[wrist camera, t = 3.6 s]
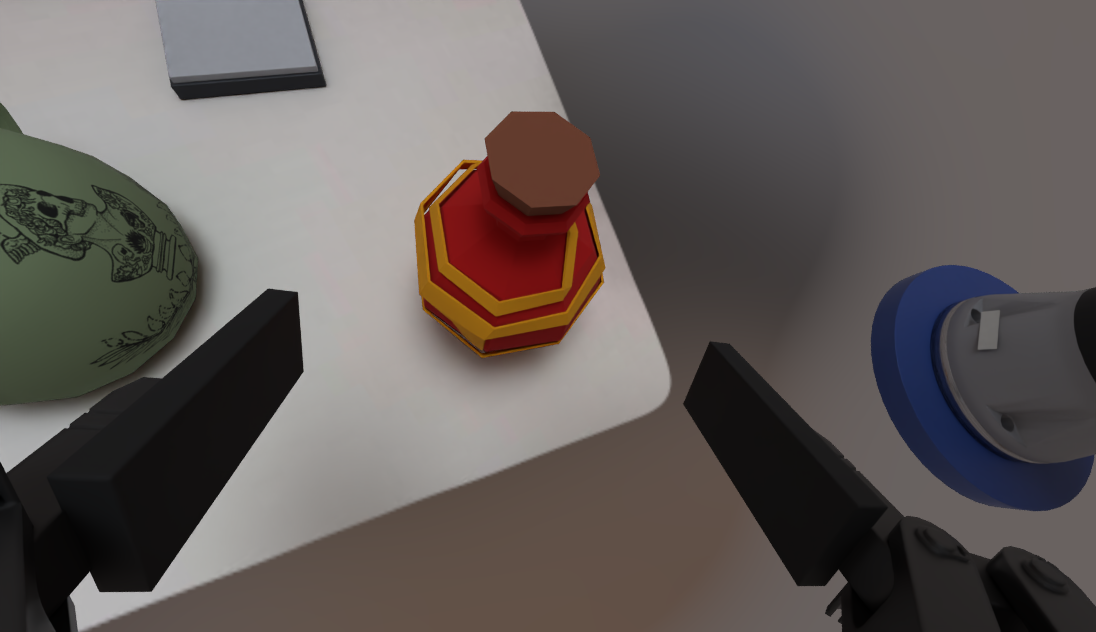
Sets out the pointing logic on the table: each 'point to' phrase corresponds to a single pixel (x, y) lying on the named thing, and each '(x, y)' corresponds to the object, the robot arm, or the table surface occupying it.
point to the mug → (81, 271)
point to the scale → (237, 46)
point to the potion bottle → (513, 238)
